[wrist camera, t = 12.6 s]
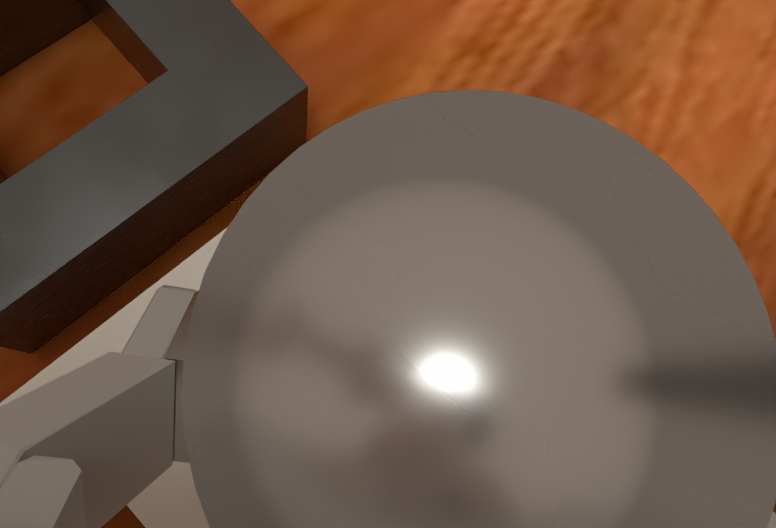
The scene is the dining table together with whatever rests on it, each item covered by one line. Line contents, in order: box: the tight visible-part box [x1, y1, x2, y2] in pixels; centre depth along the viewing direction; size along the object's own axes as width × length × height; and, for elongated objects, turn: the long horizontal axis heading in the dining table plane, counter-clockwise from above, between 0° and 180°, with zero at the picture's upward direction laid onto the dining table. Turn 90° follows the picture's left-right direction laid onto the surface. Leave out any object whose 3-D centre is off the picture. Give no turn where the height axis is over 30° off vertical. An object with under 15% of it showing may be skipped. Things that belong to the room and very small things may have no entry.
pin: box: [182, 90, 776, 528], centre depth 11 cm, size 4×4×14 cm
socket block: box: [0, 0, 308, 353], centre depth 21 cm, size 12×12×4 cm
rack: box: [0, 227, 228, 528], centre depth 19 cm, size 12×20×4 cm, turn 132°
